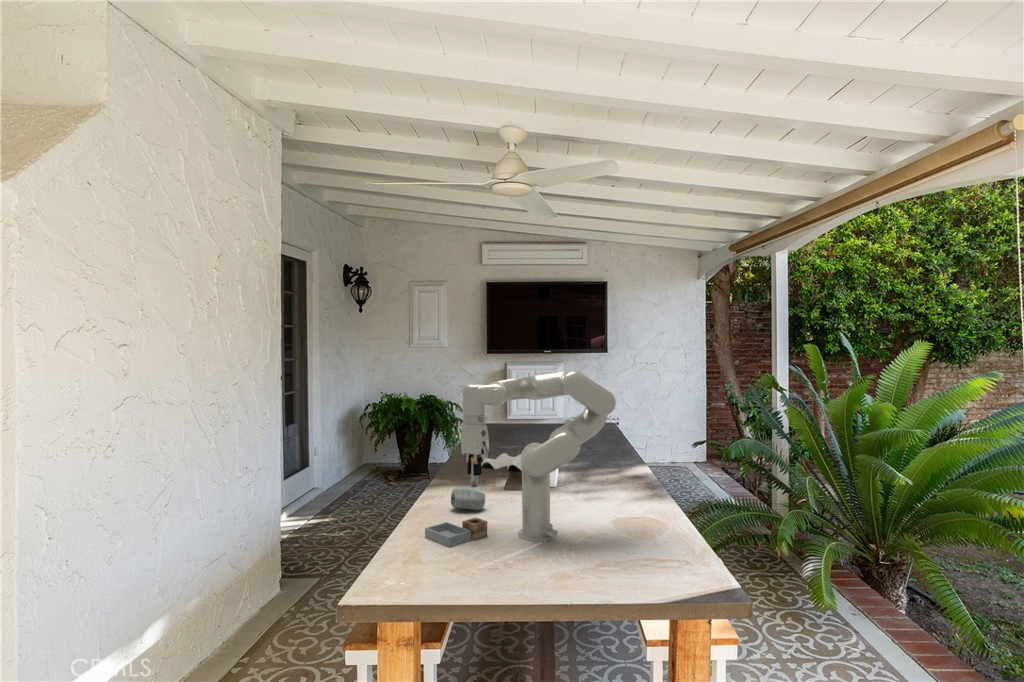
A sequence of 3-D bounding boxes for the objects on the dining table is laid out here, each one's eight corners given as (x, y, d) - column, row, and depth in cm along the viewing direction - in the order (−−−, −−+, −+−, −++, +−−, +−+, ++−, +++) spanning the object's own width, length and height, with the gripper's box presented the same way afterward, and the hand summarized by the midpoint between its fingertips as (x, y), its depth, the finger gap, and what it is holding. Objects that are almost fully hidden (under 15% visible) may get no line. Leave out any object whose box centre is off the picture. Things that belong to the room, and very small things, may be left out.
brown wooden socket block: (487, 535, 191) (487, 521, 191) (473, 540, 187) (473, 525, 187) (475, 531, 195) (475, 517, 195) (462, 536, 191) (462, 521, 191)
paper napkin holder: (477, 473, 283) (477, 454, 283) (493, 466, 300) (493, 447, 300) (523, 478, 273) (523, 458, 273) (537, 469, 291) (537, 450, 291)
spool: (444, 507, 216) (453, 483, 215) (450, 500, 225) (459, 477, 225) (477, 521, 214) (486, 497, 214) (481, 514, 224) (490, 491, 223)
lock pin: (479, 486, 191) (479, 456, 191) (474, 487, 189) (474, 457, 189) (474, 485, 193) (474, 455, 193) (469, 486, 191) (469, 456, 191)
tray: (471, 540, 187) (471, 530, 187) (449, 547, 181) (449, 537, 181) (446, 530, 197) (446, 521, 197) (425, 537, 190) (425, 528, 190)
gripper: (498, 421, 188) (498, 476, 188) (467, 417, 199) (467, 469, 199) (481, 423, 183) (481, 480, 183) (450, 419, 194) (451, 472, 194)
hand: (474, 474), depth 191 cm, fingers closed on lock pin, 2 cm apart
